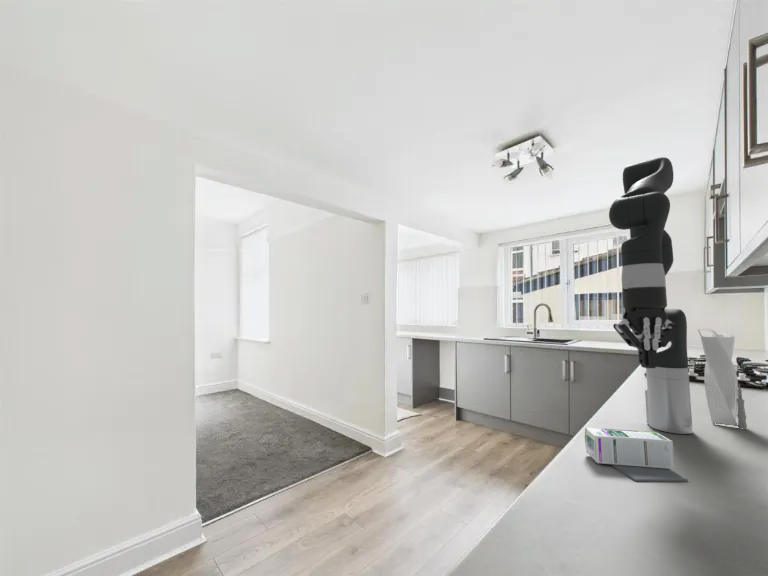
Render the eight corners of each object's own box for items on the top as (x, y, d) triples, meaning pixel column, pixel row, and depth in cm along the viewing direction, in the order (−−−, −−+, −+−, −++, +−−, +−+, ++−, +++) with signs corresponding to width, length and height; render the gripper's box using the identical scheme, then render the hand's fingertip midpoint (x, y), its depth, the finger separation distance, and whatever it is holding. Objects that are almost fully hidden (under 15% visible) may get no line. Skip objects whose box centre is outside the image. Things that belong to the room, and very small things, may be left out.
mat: (595, 455, 76) (595, 453, 76) (640, 455, 76) (640, 453, 76) (635, 481, 64) (635, 479, 64) (687, 481, 64) (687, 479, 64)
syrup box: (673, 440, 69) (594, 434, 72) (675, 471, 68) (595, 463, 71) (656, 431, 74) (584, 426, 77) (658, 459, 74) (585, 453, 77)
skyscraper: (706, 425, 99) (699, 328, 101) (702, 418, 105) (696, 327, 107) (748, 431, 94) (740, 329, 96) (741, 423, 100) (734, 328, 102)
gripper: (659, 287, 77) (664, 364, 76) (601, 287, 77) (605, 365, 76) (689, 284, 69) (695, 370, 68) (624, 285, 69) (629, 371, 68)
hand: (648, 367), depth 72 cm, fingers closed
